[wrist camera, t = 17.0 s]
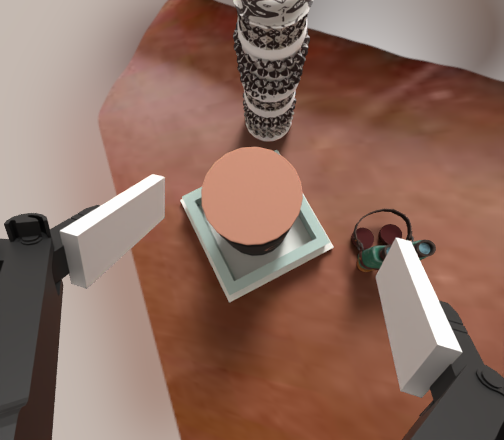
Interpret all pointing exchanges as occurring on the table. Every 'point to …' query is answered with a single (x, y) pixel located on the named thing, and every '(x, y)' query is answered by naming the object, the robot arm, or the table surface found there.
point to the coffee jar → (252, 199)
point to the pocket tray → (261, 266)
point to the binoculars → (388, 233)
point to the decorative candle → (270, 61)
